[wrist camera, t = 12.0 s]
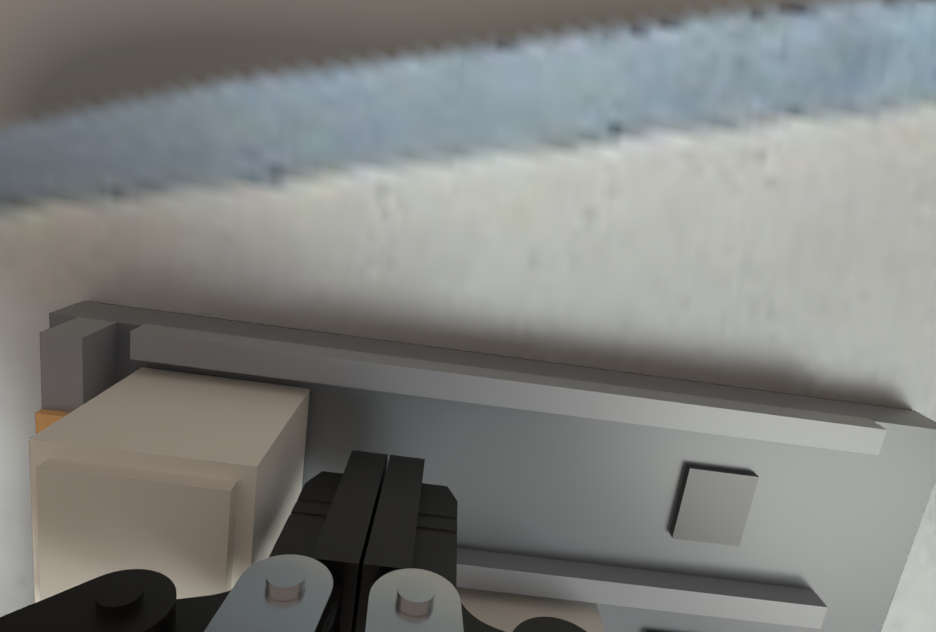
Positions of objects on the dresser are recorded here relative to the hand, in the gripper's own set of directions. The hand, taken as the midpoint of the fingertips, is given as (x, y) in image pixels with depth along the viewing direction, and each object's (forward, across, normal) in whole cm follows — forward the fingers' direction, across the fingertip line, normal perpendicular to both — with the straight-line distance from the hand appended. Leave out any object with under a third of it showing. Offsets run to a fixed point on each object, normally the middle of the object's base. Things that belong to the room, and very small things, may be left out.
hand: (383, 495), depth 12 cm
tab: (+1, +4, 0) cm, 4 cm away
